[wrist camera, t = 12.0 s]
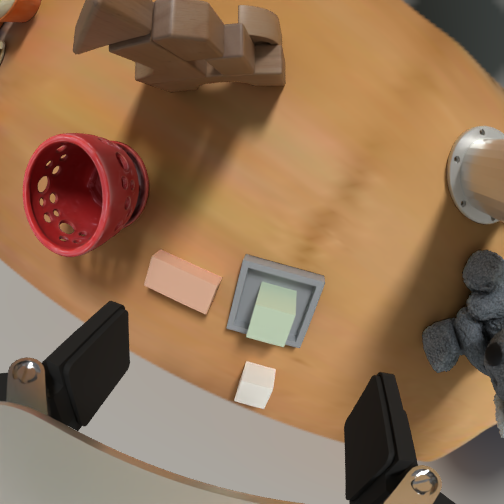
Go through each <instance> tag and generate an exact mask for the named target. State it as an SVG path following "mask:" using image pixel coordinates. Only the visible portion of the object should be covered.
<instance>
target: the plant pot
mask: <svg viewBox="0 0 504 504" xmlns="http://www.w3.org/2000/svg"><path fill="white" fill-rule="evenodd" d="M61 146H62V147H61ZM59 147H61V148H59ZM58 148H59V149H58ZM64 154H66V156H65V157H64V158H61V156H62V155H64ZM49 161H51V163H50V164H49V165H47V166H46V164H47V163H48V162H49ZM56 166H59V170H58V172H57V173H56V174H52V172H53V169H54V168H55V167H56ZM43 176H47V178H48V183H47V187H46V189H45V190H44V191H43V192H39V191H38V182H39V180H40V179H41V178H42V177H43ZM148 192H149V180H148V174H147V170H146V168H145V165H144V163H143V161H142V159H141V158H140V156H139V155H138V154H137V153H136V152H135V151H134V150H133V149H132V148H131V147H129V146H128V145H126V144H124V143H121V142H118V141H109V140H107V139H105V138H102V137H98V136H94V135H89V134H82V133H66V134H59V135H55V136H53V137H51V138H49V139H47V140H46V141H44V142H43V143H42V144H41V145H40V146H39V147H38V148H37V149H36V150H35V152H34V153H33V155H32V157H31V159H30V161H29V163H28V165H27V168H26V172H25V176H24V181H23V204H24V209H25V213H26V217H27V220H28V222H29V224H30V227H31V229H32V231H33V232H34V234H35V236H36V237H37V238H38V240H39V241H40V242H41V243H42V244H43V245H44V246H45V247H46V248H48V249H49V250H51V251H52V252H54V253H56V254H59V255H61V256H65V257H76V256H80V255H83V254H86V253H88V252H90V251H92V250H94V249H95V248H97V247H99V246H100V245H102V244H103V243H105V242H106V241H107V240H109V239H110V238H111V237H113V236H115V235H116V234H117V233H118V232H119V231H120V230H121V229H122V228H125V227H127V226H129V225H130V224H132V223H133V222H134V221H135V220H136V219H137V218H138V217H139V215H140V214H141V213H142V211H143V209H144V207H145V205H146V202H147V198H148ZM52 193H53V194H54V195H55V197H56V200H55V202H54V203H52V202H51V201H50V195H51V194H52ZM40 198H42V199H43V201H44V203H43V206H41V205H40V202H39V201H40ZM54 210H56V211H57V212H58V213H59V216H55V215H54ZM44 214H46V215H48V216H49V217H50V220H51V222H50V223H48V222H46V221H45V219H44ZM61 223H67V224H69V225H70V226H72V227H73V229H74V232H73V233H72V234H66V233H65V232H63V231H62V230H61V229H60V227H59V225H60V224H61ZM80 235H86V236H80ZM60 239H65V240H66V241H62V240H60Z"/></svg>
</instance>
